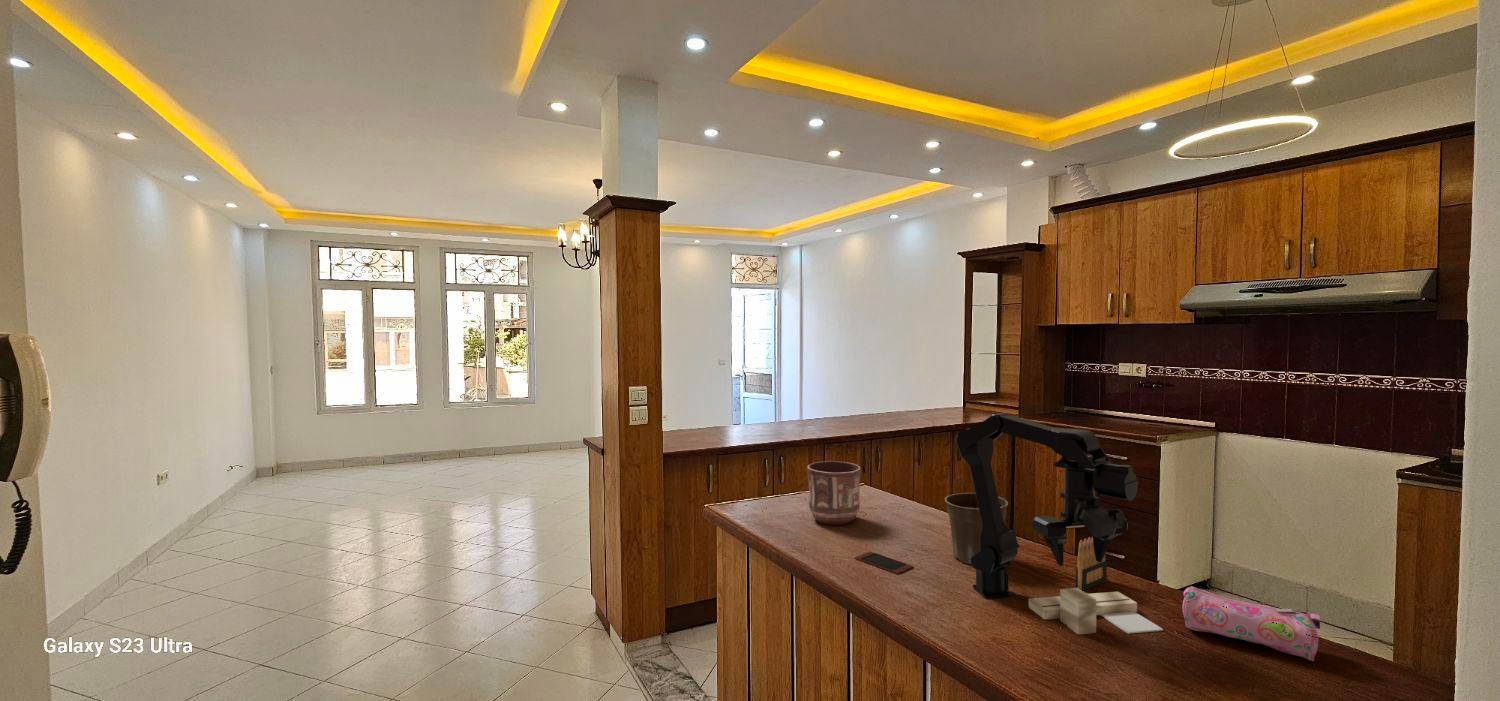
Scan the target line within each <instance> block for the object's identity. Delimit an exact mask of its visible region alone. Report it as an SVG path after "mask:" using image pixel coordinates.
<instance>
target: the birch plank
mask: <svg viewBox="0 0 1500 701" xmlns="http://www.w3.org/2000/svg"><path fill="white" fill-rule="evenodd" d="M1087 594H1088V595H1090V596H1091V597H1093V598H1094V599H1096V616H1101V615H1103V614H1115V613H1126V612H1136V613H1138V602H1136V601H1135V600H1133V599H1132V598H1130V597H1128V596H1126V595H1125V594H1123V593H1121V592H1120V591H1108V592H1106V591H1105V592H1095V593H1087ZM1028 608H1029V609H1030V610H1031V611H1033V612H1034V613H1035V614H1036V615H1038V616H1039V617H1040V618H1042V619H1043V620H1055V619H1057V618H1058V619H1060V595H1057V596H1046V597H1035V598H1034V597H1032V598H1028Z"/></svg>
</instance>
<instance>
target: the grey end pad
mask: <svg viewBox="0 0 1500 701" xmlns="http://www.w3.org/2000/svg"><path fill="white" fill-rule="evenodd" d="M1100 616H1101V617H1102V618H1103V617H1104V618H1103V619H1105V621H1108V622H1110V623H1111V624H1112V625H1114V626H1115V627H1117V628H1119V629H1120V630H1122V631H1123V632H1124V633H1126V634H1128V635H1130V634H1138V633H1139V634H1140V633H1149V632H1150V633H1151V632H1163V631H1164V628H1162V627H1161V626H1159V625H1158V624H1156V623H1154V622H1152V621H1151V620H1149V619H1147V618H1145V617H1144V616H1142V615H1141V614H1139V613H1138V612H1126V613H1115V614H1103V615H1100Z"/></svg>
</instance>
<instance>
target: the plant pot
mask: <svg viewBox="0 0 1500 701" xmlns="http://www.w3.org/2000/svg"><path fill="white" fill-rule="evenodd" d="M998 499H999V504H1000V508H1001V513H1002V517H1003V521H1005V519H1006V512H1007V507H1008V506H1009V502H1008V500H1006V499H1005V498H1004V497H1000V496H998ZM944 502H945V504H946V509H947V515H948V516H949V523H950V531H951V532H950V533H951V541H952V548H953V557H954V559H956V560H959V562H960V563H964V564H966V565H969V566H970V565H971V566H972V564H971V560H970V559H971V558H972V557H973V556H975V555H976V554H977V553H978V552H980V542H979V539H980V535H981V530H982V521H981V517H980V512H979V508H978V503H977V498H976V494H975V492H962V493H961V492H960V493H954V494H949V495H947V496H945V497H944Z"/></svg>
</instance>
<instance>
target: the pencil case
mask: <svg viewBox="0 0 1500 701" xmlns="http://www.w3.org/2000/svg"><path fill="white" fill-rule="evenodd" d="M1223 606H1224V607H1223ZM1226 607H1227V608H1226ZM1182 614H1183V619H1184V623H1185V625H1184V626H1185V627H1186V628H1188V629H1189V630H1191V631H1196V632H1202V633H1210V634H1216V635H1221V636H1224V637H1228V638H1233V639H1238V640H1241V641H1242V640H1243V641H1246V642H1249V643H1254V644H1258V645H1264V646H1266V647H1268V648H1269V647H1270V648H1271V649H1273V650H1275V651H1278V652H1280V653H1281V652H1282V653H1285V654H1288V655H1293V656H1296V657H1300V658H1303V659H1306V660H1307V661H1311V662H1315V657H1316V654H1317V651H1318V649H1319V648H1318V647H1319V635H1318V630H1320V629H1321V620H1322V618H1321V616H1320V614H1317V613H1309V612H1308V611H1306V610H1300V608H1294V609H1290V608H1278V607H1272V606H1268V605H1263V604H1258V603H1253V602H1248V601H1247V602H1246V601H1242V600H1236V599H1233V598H1229V597H1225V596H1221V595H1218V594H1216V593H1213V592H1210V591H1207V590H1205V589H1200V588H1198V587H1195V586H1189V587H1186V588H1185V590H1183V601H1182ZM1272 622H1274V623H1272ZM1276 623H1277V624H1276ZM1317 629H1318V630H1317ZM1306 634H1307V635H1306ZM1308 635H1310V636H1308ZM1312 636H1314V637H1312ZM1315 637H1318V638H1315Z"/></svg>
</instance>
